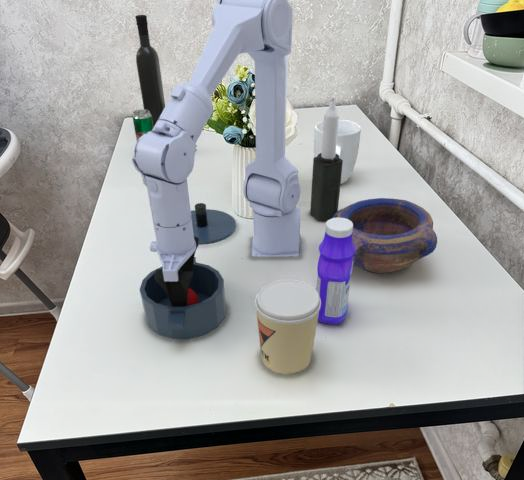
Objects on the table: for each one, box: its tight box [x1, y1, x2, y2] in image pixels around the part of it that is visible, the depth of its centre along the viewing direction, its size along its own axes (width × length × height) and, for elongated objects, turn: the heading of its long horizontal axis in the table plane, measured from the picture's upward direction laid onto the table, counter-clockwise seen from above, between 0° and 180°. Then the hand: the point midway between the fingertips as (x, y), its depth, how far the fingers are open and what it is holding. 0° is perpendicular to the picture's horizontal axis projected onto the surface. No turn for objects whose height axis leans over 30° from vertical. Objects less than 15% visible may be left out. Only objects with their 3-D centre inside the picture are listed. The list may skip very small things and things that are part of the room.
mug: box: [313, 118, 362, 185], centre depth 119 cm, size 15×11×13 cm
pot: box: [139, 256, 227, 340], centre depth 83 cm, size 14×19×6 cm
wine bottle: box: [135, 14, 166, 127], centre depth 143 cm, size 6×6×30 cm
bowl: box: [332, 197, 438, 274], centre depth 94 cm, size 18×18×10 cm
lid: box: [191, 202, 237, 245], centre depth 105 cm, size 15×15×6 cm
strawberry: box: [171, 288, 198, 307], centre depth 83 cm, size 5×5×5 cm
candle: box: [309, 95, 343, 223], centre depth 103 cm, size 5×5×25 cm
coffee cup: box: [254, 278, 321, 375], centre depth 73 cm, size 9×9×12 cm
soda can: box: [132, 108, 154, 142], centre depth 133 cm, size 5×5×12 cm
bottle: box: [315, 217, 355, 325], centre depth 79 cm, size 7×6×17 cm
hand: (183, 292), depth 82 cm, fingers open, 7 cm apart
